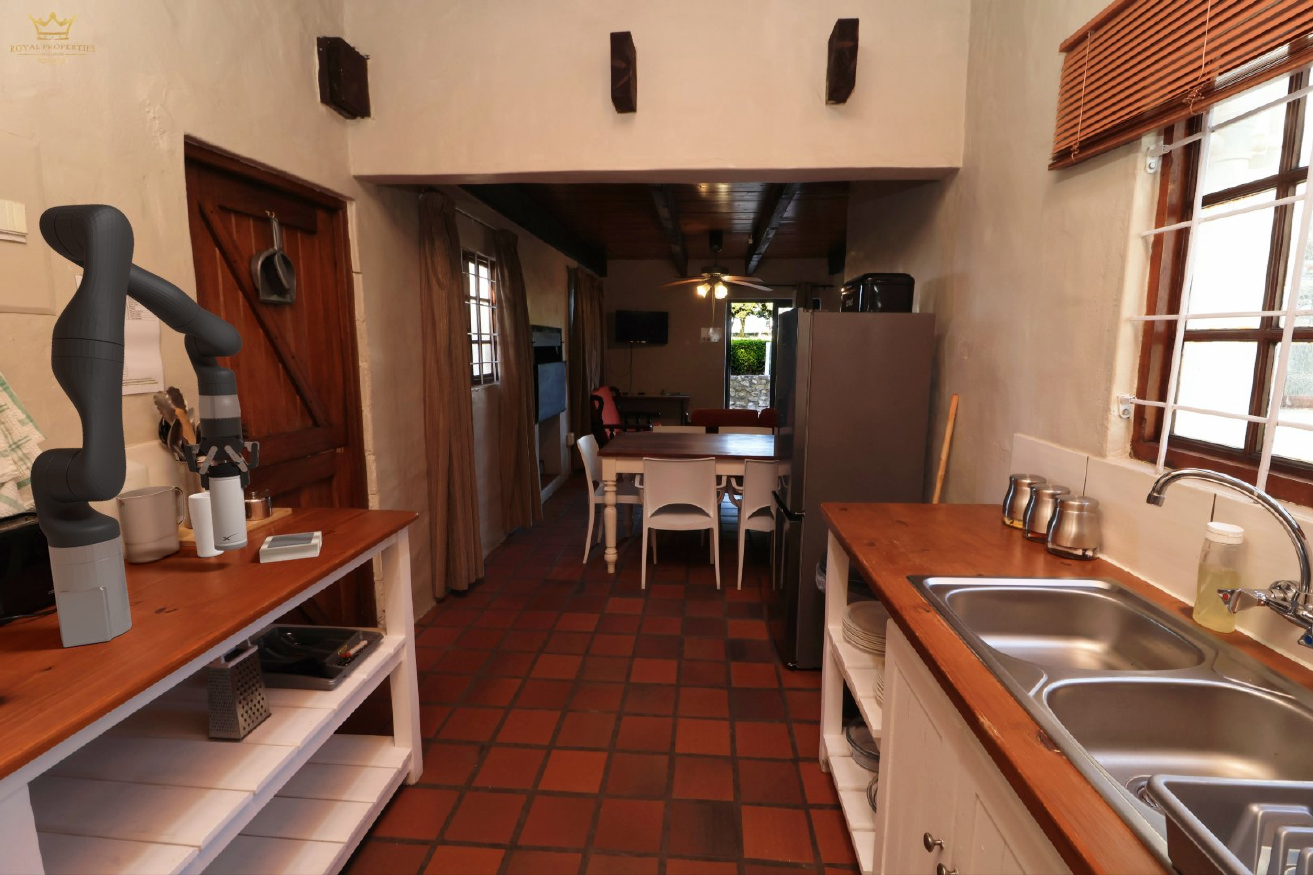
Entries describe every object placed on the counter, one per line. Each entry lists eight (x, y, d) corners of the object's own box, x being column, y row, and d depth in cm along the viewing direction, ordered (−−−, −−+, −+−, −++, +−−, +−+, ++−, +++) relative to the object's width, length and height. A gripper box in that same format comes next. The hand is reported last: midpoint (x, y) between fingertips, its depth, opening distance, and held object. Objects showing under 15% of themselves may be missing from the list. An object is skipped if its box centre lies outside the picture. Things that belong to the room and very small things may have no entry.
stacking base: (318, 556, 149) (317, 543, 149) (260, 563, 144) (259, 549, 144) (322, 542, 160) (321, 530, 160) (268, 548, 155) (267, 535, 155)
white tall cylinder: (192, 553, 151) (186, 494, 149) (226, 548, 155) (220, 490, 153) (195, 561, 146) (189, 499, 144) (229, 554, 150) (224, 495, 148)
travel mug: (232, 552, 137) (224, 463, 134) (207, 550, 138) (199, 462, 136) (255, 543, 143) (249, 459, 140) (231, 542, 144) (224, 458, 142)
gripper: (175, 418, 130) (182, 494, 132) (255, 415, 136) (261, 489, 138) (185, 414, 137) (192, 488, 139) (260, 412, 143) (266, 483, 145)
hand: (226, 488), depth 139 cm, fingers closed on travel mug, 6 cm apart
